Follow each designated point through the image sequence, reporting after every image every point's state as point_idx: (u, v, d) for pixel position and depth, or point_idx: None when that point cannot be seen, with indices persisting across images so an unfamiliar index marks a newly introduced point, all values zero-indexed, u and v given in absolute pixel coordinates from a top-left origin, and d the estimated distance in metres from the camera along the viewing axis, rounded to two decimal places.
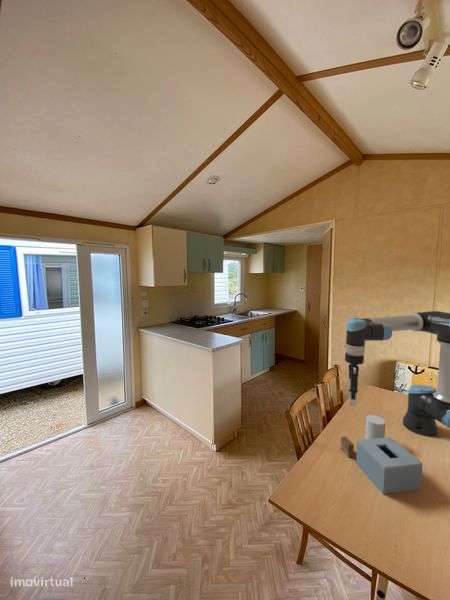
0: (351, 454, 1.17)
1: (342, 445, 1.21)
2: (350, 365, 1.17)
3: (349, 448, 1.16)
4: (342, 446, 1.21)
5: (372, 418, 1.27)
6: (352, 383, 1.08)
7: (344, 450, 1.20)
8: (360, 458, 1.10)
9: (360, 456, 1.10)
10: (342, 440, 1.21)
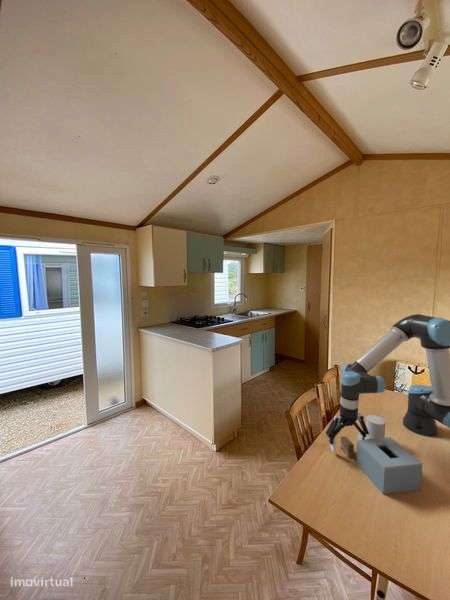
0: (351, 454, 1.17)
1: (342, 445, 1.21)
2: None
3: (349, 448, 1.16)
4: (342, 446, 1.21)
5: (372, 418, 1.27)
6: (329, 427, 1.18)
7: (344, 450, 1.19)
8: (360, 458, 1.10)
9: (360, 456, 1.10)
10: (342, 440, 1.21)
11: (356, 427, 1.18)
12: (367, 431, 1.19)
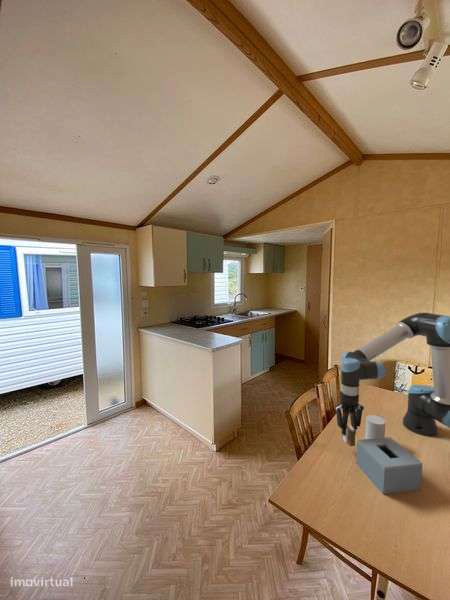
0: (353, 443, 1.16)
1: None
2: None
3: (351, 437, 1.16)
4: None
5: (372, 418, 1.27)
6: (337, 419, 1.18)
7: None
8: (360, 458, 1.10)
9: (360, 456, 1.10)
10: None
11: (352, 416, 1.17)
12: (359, 423, 1.18)
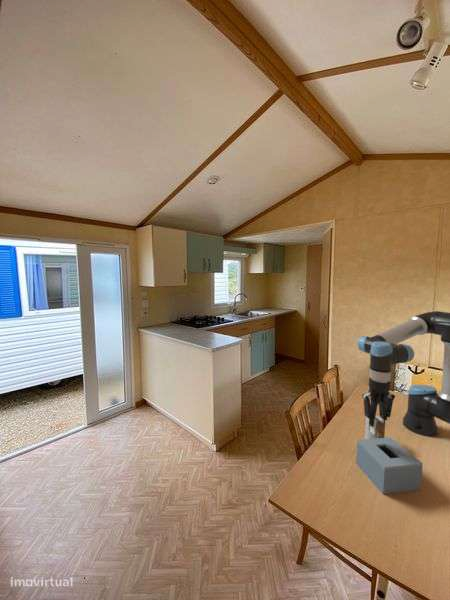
0: (382, 435, 1.05)
1: None
2: None
3: (379, 428, 1.05)
4: None
5: None
6: (365, 408, 1.07)
7: None
8: (360, 458, 1.10)
9: (360, 456, 1.10)
10: None
11: (382, 405, 1.06)
12: (389, 414, 1.07)
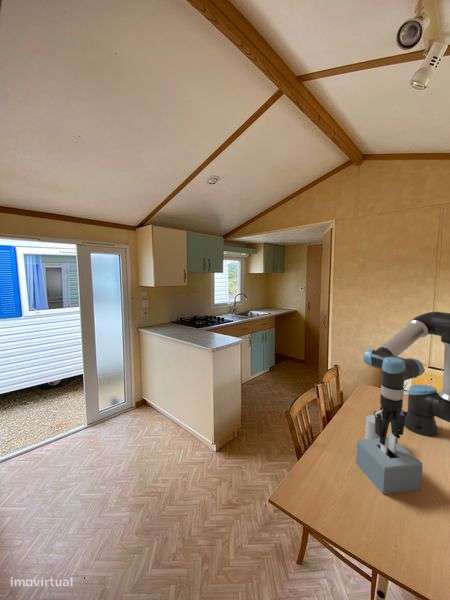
0: None
1: None
2: None
3: None
4: None
5: (372, 418, 1.27)
6: (376, 426, 1.04)
7: None
8: (360, 458, 1.10)
9: (360, 456, 1.10)
10: None
11: (394, 423, 1.03)
12: (402, 431, 1.04)
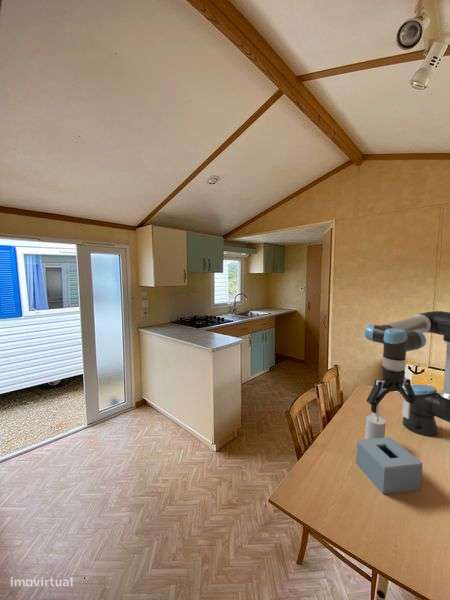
0: None
1: None
2: None
3: None
4: None
5: (372, 418, 1.27)
6: (370, 394, 1.02)
7: None
8: (360, 458, 1.10)
9: (360, 456, 1.10)
10: None
11: (402, 392, 1.02)
12: (414, 397, 1.03)
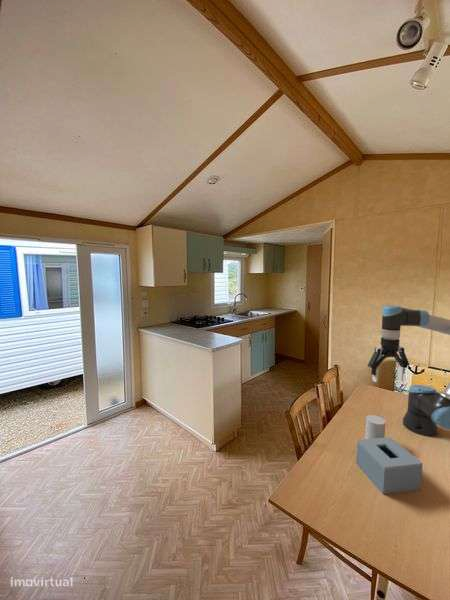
0: None
1: None
2: None
3: None
4: None
5: (372, 418, 1.27)
6: (371, 359, 1.23)
7: None
8: (360, 458, 1.10)
9: (360, 456, 1.10)
10: None
11: (397, 358, 1.23)
12: (407, 362, 1.24)
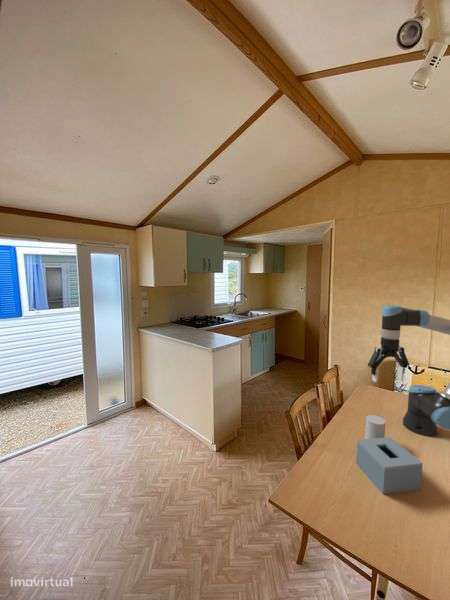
0: None
1: None
2: None
3: None
4: None
5: (372, 418, 1.27)
6: (371, 359, 1.23)
7: None
8: (360, 458, 1.10)
9: (360, 456, 1.10)
10: None
11: (397, 358, 1.23)
12: (407, 362, 1.24)
